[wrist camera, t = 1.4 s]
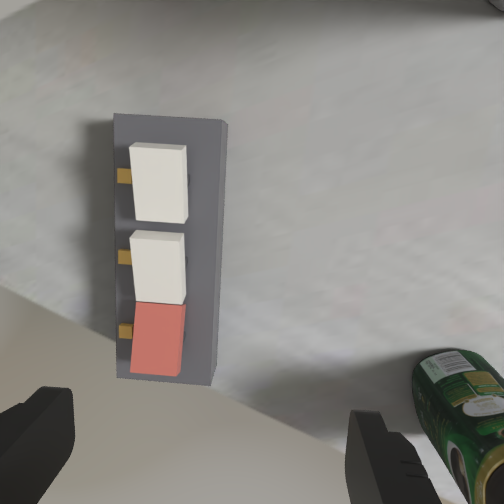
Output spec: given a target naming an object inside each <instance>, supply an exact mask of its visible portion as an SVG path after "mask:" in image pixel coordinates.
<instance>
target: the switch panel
mask: <svg viewBox="0 0 504 504" xmlns="http://www.w3.org/2000/svg"><path fill="white" fill-rule="evenodd" d="M227 133H228V124H227V123H226V122H224V121H223V120H219V119H202V118H185V117H168V116H151V115H134V114H117V113H114V196H115V279H116V356H117V357H116V361H117V378H125V379H136V380H148V381H159V382H171V383H183V384H194V385H205V386H211V383H212V379H213V376H214V372H215V369H216V366H217V346H218V324H219V303H220V282H221V260H222V239H223V218H224V197H225V175H226V154H227ZM136 142H141V143H157V144H173V145H186V155H187V188H188V218H187V220H186V221H185V223H184V224H182V223H168V222H153V221H139V220H136V214H135V204H134V193H133V183H132V172H131V162H130V151H129V147H130V146H131V145H133V144H134V143H136ZM135 230H146V231H160V232H174V233H184V248H185V276H186V296H185V299H184V301H183V304H186V309H185V321H184V334H183V346H182V358H181V370H180V373H179V374H178V375H177V376H165V375H154V374H143V373H131V372H130V366H131V355H132V343H133V332H134V320H135V309H136V302H138V301H136V295H135V286H134V276H133V267H132V258H131V248H130V239H129V238H130V237H131V235H132V234H133V233H134V232H135Z"/></svg>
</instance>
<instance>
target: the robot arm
mask: <svg viewBox="0 0 504 504" xmlns="http://www.w3.org/2000/svg"><path fill="white" fill-rule="evenodd" d="M489 2H490V3H491V4H493V5H494V6H495V7H497V8H498V9H499V10H501V11H503V12H504V0H489ZM74 441H75V426H74V409H73V394H72V391H71V389H69V388H60V387H47V386H43V387H41V388H39V389H38V390H37V391H36V392H35V393H34V394H33V395H32V396H31V397H30V398H29V399H27V400H26V401H25V402H24V403H19V404H17V405H15V406H13V407H11V408H9V409H8V410H6V411H4V412H2V413H0V504H37V503H38V502H39V500H40V499H41V497H42V496H43V494H44V493H45V492H46V490H47V489H48V487H49V486H50V485H51V483H52V482H53V480H54V479H55V477H56V476H57V475H58V473H59V472H60V470H61V469H62V467H63V466H64V465H65V463H66V462H67V460H68V459H69V457H70V455H71V452H72V450H73V446H74ZM345 476H346V483H347V488H348V493H349V497H350V502H351V504H442V503H441V501H440V499H439V497H438V495H437V493H436V491H435V489H434V487H433V484H432V482H431V480H430V478H428V474H427V472H426V470H425V468H424V466H423V465H422V462H421V460H420V458H419V456H418V454H417V451H416V449H415V447H414V446H413V445H412V444H411V443H410V442H409V441H408V440H407V439H406V438H405V437H404V436H403V435H402V434H401V433H400V432H388V431H387V428H386V426H385V423H384V421H383V419H382V416H381V414H380V412H377V411H364V410H351V413H350V418H349V427H348V436H347V445H346V455H345Z"/></svg>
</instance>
